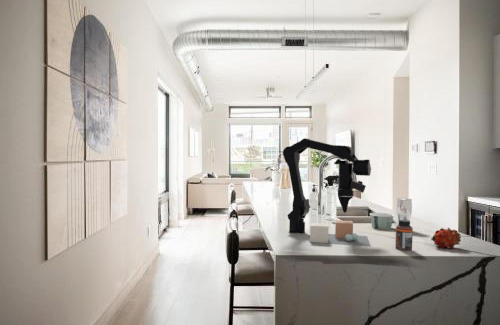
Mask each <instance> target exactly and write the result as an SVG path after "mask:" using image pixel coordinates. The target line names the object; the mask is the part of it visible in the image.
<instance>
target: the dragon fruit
mask: <svg viewBox="0 0 500 325" xmlns="http://www.w3.org/2000/svg"><path fill="white" fill-rule="evenodd" d="M461 236H462V234H460V233H459V232H458V230H456V229H451V228H450V227H447V229H445V228H443V227H442V228H440V229H439V230H436V231H435V232H434V235H433V236H432V237H431V241H433V244H434V245H435V247H437V248H441V249H442V248H447V249H453V248H454V247H455V246H456V245H459V246H460V243H461V242H462V241H461V240H462V239H461V238H462V237H461Z"/></svg>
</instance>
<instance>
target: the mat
mask: <svg viewBox="0 0 500 325" xmlns="http://www.w3.org/2000/svg"><path fill="white" fill-rule="evenodd" d="M308 243H310V244H311V243H312V244H328V245H342V246H343V245H344V246H357V247H358V246H359V247H371V243H370V240H369V238H368V236H367V235H358V239H357V240H356V241H353V240H352V241H346V239H344V238H335V234H334V233H329V235H328V243H322V242H310V239H309V240H308Z"/></svg>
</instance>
